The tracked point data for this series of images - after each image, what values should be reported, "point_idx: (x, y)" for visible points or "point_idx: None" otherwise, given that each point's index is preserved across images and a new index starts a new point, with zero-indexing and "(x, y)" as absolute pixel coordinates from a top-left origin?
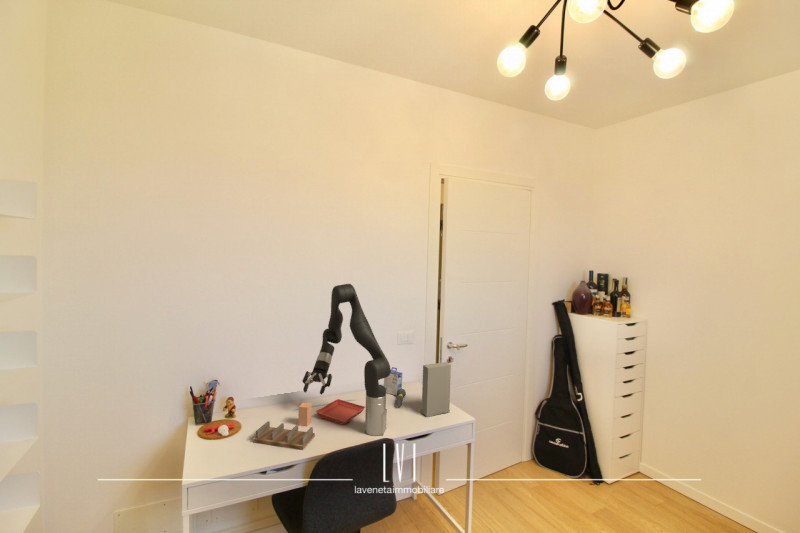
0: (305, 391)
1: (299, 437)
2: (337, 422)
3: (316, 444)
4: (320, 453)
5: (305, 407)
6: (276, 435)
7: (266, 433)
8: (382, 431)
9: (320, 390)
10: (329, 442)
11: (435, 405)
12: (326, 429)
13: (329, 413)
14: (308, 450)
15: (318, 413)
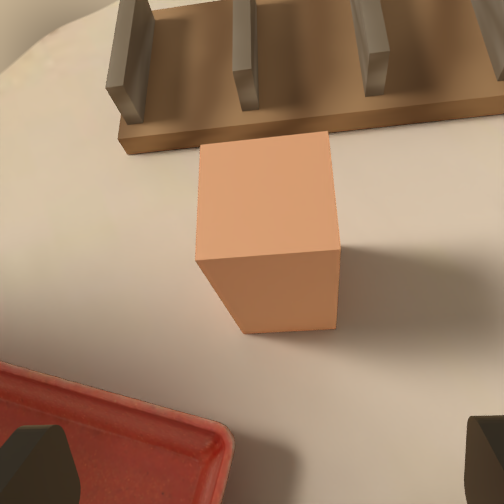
0: (469, 450)
1: (199, 68)
2: (3, 398)
3: (88, 93)
4: (43, 43)
5: (228, 142)
6: (354, 14)
7: (455, 26)
8: None
9: (18, 460)
10: (17, 133)
11: None
12: (73, 261)
13: None
14: None
15: (192, 418)
